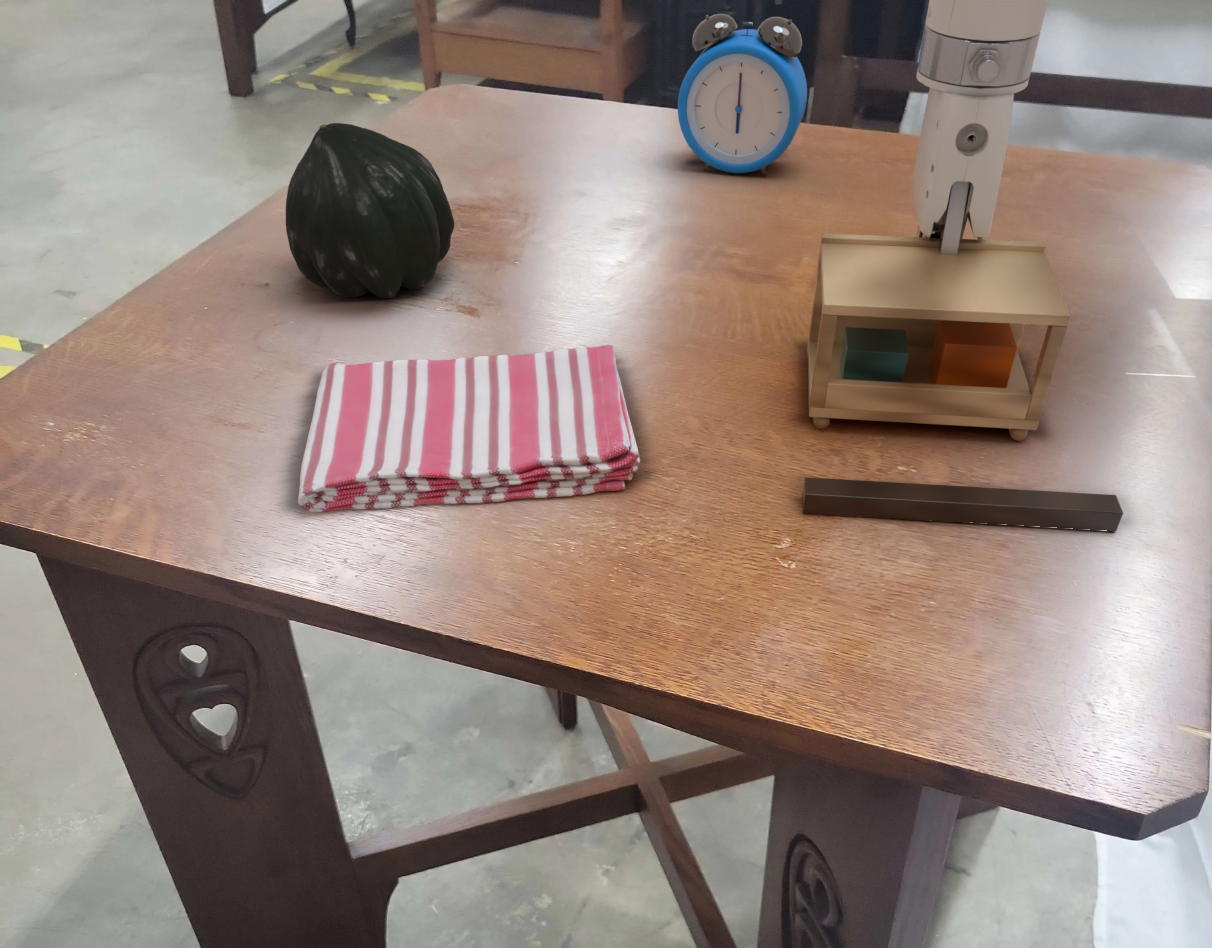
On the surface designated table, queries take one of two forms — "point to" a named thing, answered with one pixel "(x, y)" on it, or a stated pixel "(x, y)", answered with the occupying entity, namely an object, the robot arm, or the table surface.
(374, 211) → the squash
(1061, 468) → the table surface
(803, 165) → the table surface
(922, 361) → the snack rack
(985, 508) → the edge strip
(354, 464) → the dish towel
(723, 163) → the alarm clock
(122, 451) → the table surface
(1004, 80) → the robot arm
